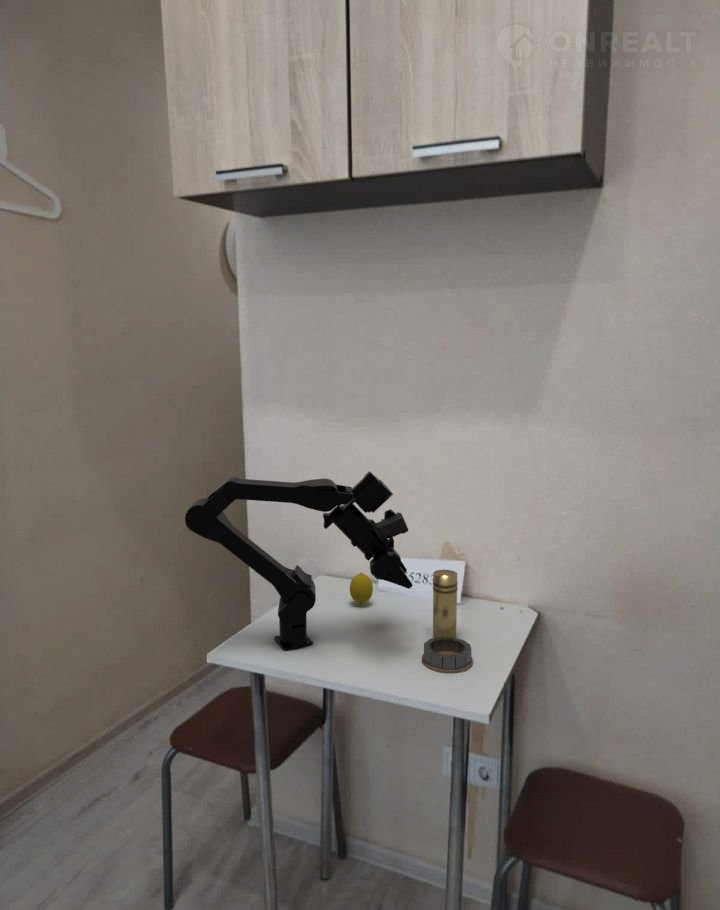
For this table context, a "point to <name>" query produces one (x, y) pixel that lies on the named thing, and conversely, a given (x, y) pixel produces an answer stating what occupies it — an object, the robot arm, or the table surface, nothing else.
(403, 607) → the table surface
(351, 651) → the table surface
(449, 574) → the piston
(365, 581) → the lemon
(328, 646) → the table surface
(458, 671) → the collar plate
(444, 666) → the collar
